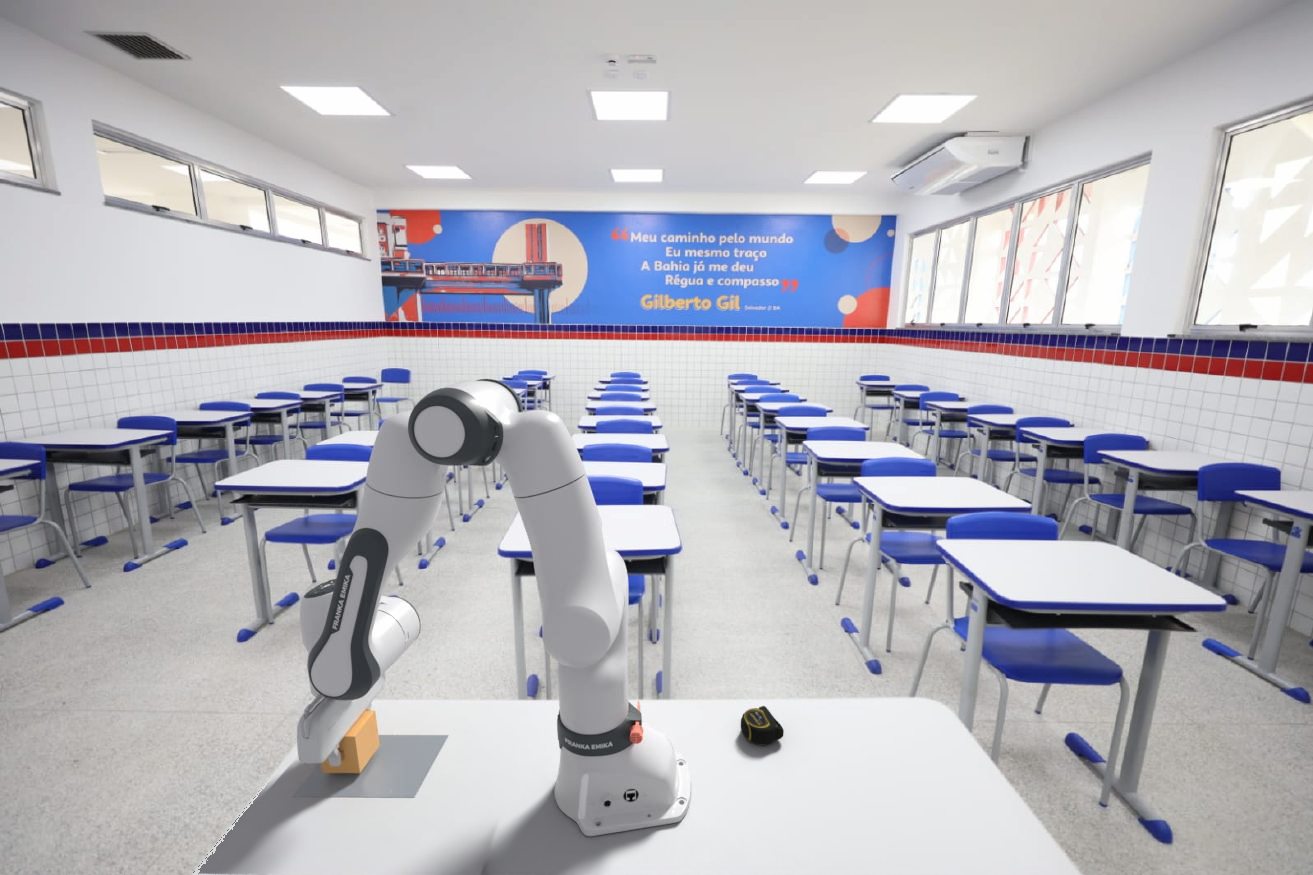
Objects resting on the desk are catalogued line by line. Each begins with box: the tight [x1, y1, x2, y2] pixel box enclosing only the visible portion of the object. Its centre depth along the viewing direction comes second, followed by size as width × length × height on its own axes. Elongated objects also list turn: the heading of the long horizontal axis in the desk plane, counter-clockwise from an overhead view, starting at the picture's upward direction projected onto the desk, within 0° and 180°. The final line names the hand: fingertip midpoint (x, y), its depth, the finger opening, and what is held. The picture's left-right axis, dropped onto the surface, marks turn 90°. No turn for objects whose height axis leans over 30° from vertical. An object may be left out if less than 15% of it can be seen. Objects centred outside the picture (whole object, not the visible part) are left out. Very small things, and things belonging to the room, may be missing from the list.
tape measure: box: [740, 705, 784, 746], centre depth 104 cm, size 7×7×4 cm
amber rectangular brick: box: [321, 709, 380, 773], centre depth 97 cm, size 6×6×7 cm
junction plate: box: [292, 734, 449, 799], centre depth 97 cm, size 20×14×6 cm
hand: (350, 745), depth 97 cm, fingers closed on amber rectangular brick, 6 cm apart
